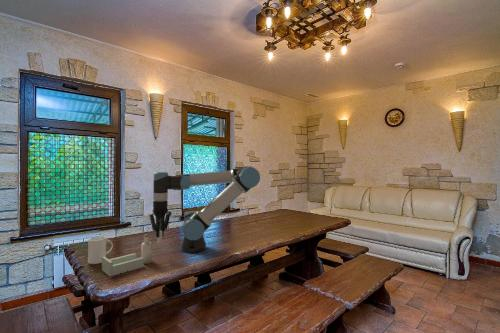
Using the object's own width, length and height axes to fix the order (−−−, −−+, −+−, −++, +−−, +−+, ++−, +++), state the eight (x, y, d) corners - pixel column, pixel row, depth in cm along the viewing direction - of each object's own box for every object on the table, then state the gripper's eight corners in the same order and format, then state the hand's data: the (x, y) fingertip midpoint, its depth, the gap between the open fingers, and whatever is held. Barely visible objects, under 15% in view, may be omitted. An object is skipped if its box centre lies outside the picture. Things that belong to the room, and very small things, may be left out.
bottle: (148, 259, 143) (149, 233, 143) (153, 261, 140) (153, 234, 140) (139, 261, 139) (139, 234, 139) (143, 264, 136) (144, 236, 136)
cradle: (134, 261, 140) (134, 249, 140) (143, 266, 133) (143, 254, 133) (101, 270, 128) (101, 257, 128) (109, 276, 121) (110, 262, 121)
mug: (111, 255, 147) (111, 234, 147) (114, 260, 141) (114, 238, 140) (86, 260, 140) (87, 237, 140) (88, 265, 134) (88, 241, 133)
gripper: (167, 198, 152) (166, 239, 152) (145, 200, 142) (145, 243, 143) (174, 199, 147) (173, 242, 147) (152, 202, 137) (151, 247, 138)
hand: (159, 242), depth 145 cm, fingers closed
